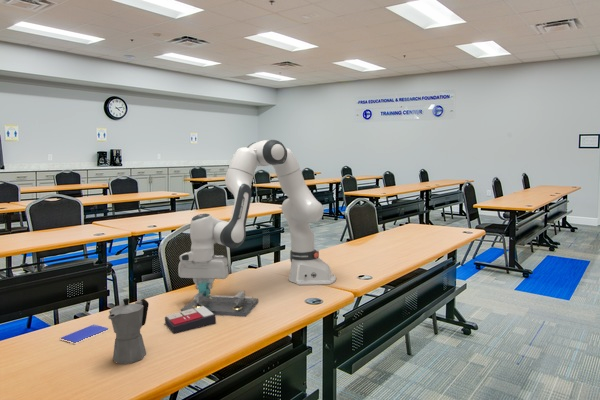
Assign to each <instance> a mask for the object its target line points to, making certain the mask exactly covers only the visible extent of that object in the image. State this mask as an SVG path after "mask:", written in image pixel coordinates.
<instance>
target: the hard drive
mask: <svg viewBox="0 0 600 400" xmlns="http://www.w3.org/2000/svg"><path fill="white" fill-rule="evenodd" d="M108 329H109V327H106V326H102V325H98V324H92V325H89V326H87V327H84V328H82V329H79V330H77V331H74V332H71V333H69V334H66V335H64V336H62V337H60V338H61V339H64V340H67V341H71V342H73V343H76V342H79V341H81V340H83V339H85V338H88V337H91V336H93V335H96V334H99V333H101V332H103V331H106V330H108Z"/></svg>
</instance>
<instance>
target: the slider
mask: <svg viewBox="0 0 600 400" xmlns="http://www.w3.org/2000/svg"><path fill="white" fill-rule="evenodd" d="M208 284H210V281H202V282H201V283H199V284H198V289H197V290H198V293H196V294H195V295H194V296H195V301H197V305H199V300H201V299H202V298H203V297H207V296H208V295H211V289H207V285H208Z"/></svg>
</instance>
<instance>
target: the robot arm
mask: <svg viewBox="0 0 600 400" xmlns="http://www.w3.org/2000/svg"><path fill="white" fill-rule="evenodd" d="M268 166H272V167H273V169H274V172H275V174H276V177H277V179H278V180H277V181H278V183H279V185H280V188H281V191H282V192H283V194H284V195H286V196H287V198H286V199H284V200H283V202H282V204H281V213H282V214H283V216H284V217H285V219H286V222H287V226H288V231H289V234H290V250H289V251H290V252H289V261H290V269H289V270H290V271H289V275H288V281H290V282H291V283H295V284H296V285H298V286H299V285H300V286H304V285H305V286H309V285H315V286H316V285H331V284H334V283H335V282H336V279H337V277H336V275H335V274H334V273H332V270H331V267H330V264H328V263H327V262H326V261H324V260H323V259H321V258H320V252H319V250H316V249H315V233H314V231H313V229H311V226H310V223H316V222H319V221H321V220H322V218H323V215H324V207H323V204H322V203H321V202H320V201H318V199H316V197H315V196H314V195H313V193H312V192H311V190H310V188H309V187H308V185H307V184H306V181H305V178H304V175H303V173H302V171H301V167H300V166H299V162H298V160H297V158H296V157H295V154H294V153H293V151H292V149H290V148H288V147H286V146H285V145H284V144H283V143H282V142H281V141H280V140H276V139H264V140H260V141H256V142H252V143H250V144H249V145H248V146H247V147H245V146H243V147H239V148H238V149H237V150H236V151H235V152H234V154H233V156H232V158H231V161H230V162H229V165H228V168H227V170H226V173H225V178H224V183H225V187H226V188H227V189H228V191H229V192H230V193H232V195H233V198H234V203H233V207H232V208H233V209H232V212H231V216H230V219H229V220H228V221H226V220H222V219H220V218H216V217H214V216H212V215H211V214H210V213H200V214H197V215H195V216H193V217H191V220H190V224H189V227H190V229H189V231H190V232H189V233H190V235H189V236H190V241H191V246H190V250H189V251H187V252H184V253H182V254H181V255H179V260H180V261H179V263H178V267H177V268H178V269H177V271H178V277H180V278H181V279H192V280H193V281H192V282H193V283H194V285H195V288H196V289H197V290H198V284H199V282H198V279H199V278H203V279H209V281H211V282H210V284H208V285H207V289H210V290H212V289H213V283H214V281H216V280H225V279H227V278H228V276H229V267H228V262H229V259H228V258H227V257H226V256H224V255H223V254H221V255H218V254H215V252H214V251H215V250H214V248H215V247H214V246H215V244H219V245H221V246H225V247H226V248H229V249H236V248H239V247H240V246H241V245H242V244H243V243H244V242H245V239H246V236H247V235H246V234H247V233H246V232H247V231H246V230H247V228H246V226H247V221H248V220H247V219H248V215H249V211H250V206H251V201H252V200H251V199H252V195H253V194H252V182H253V178H254V175H255V173H256V169H257V168H258V167H268Z"/></svg>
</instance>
